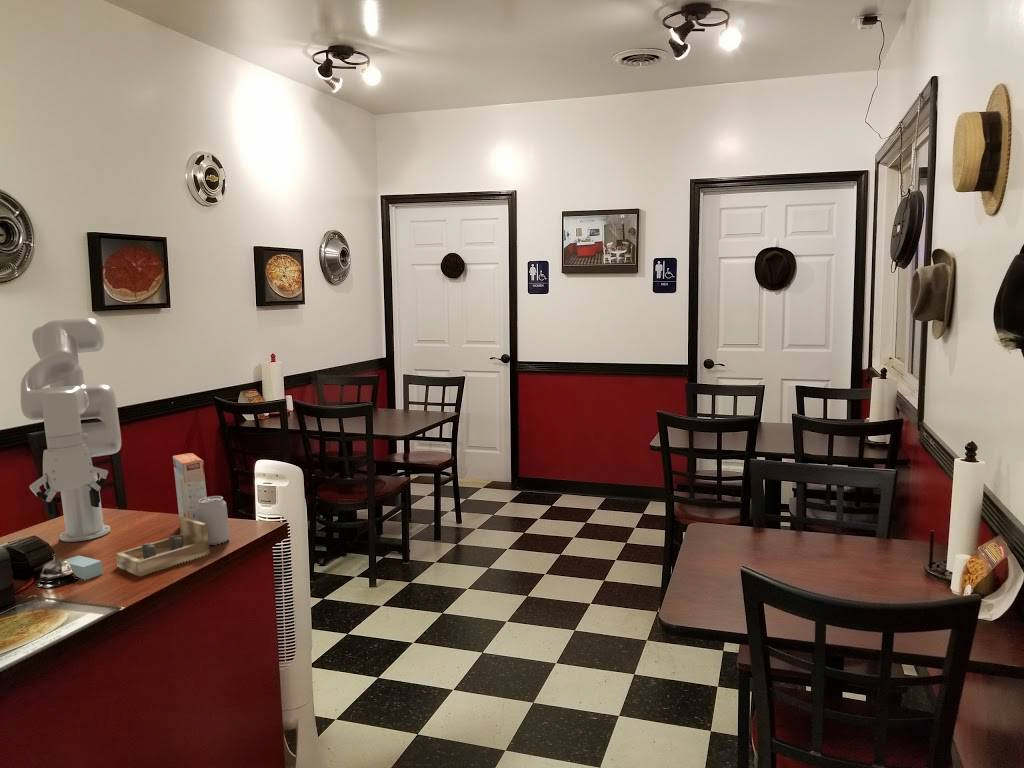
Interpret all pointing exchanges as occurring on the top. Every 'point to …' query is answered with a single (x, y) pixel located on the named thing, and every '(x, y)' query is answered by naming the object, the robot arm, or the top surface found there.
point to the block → (85, 567)
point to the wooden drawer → (167, 550)
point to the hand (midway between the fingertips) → (74, 511)
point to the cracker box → (189, 483)
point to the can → (214, 518)
